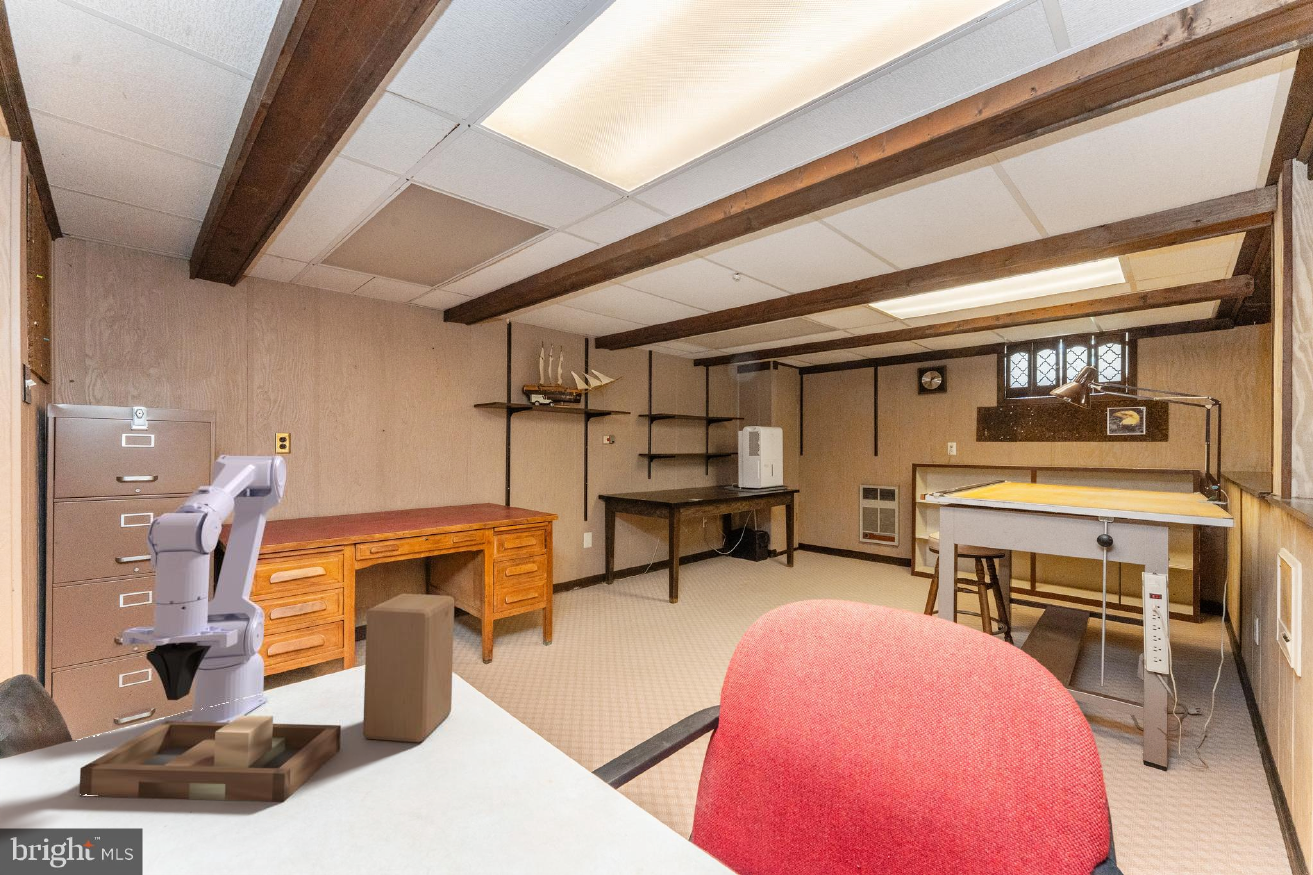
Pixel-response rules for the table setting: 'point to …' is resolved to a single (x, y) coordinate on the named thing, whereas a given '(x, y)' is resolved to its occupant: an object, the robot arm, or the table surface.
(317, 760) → the box
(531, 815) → the table surface
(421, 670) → the wooden block
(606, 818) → the table surface
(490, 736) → the table surface
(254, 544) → the robot arm
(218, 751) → the maple block
